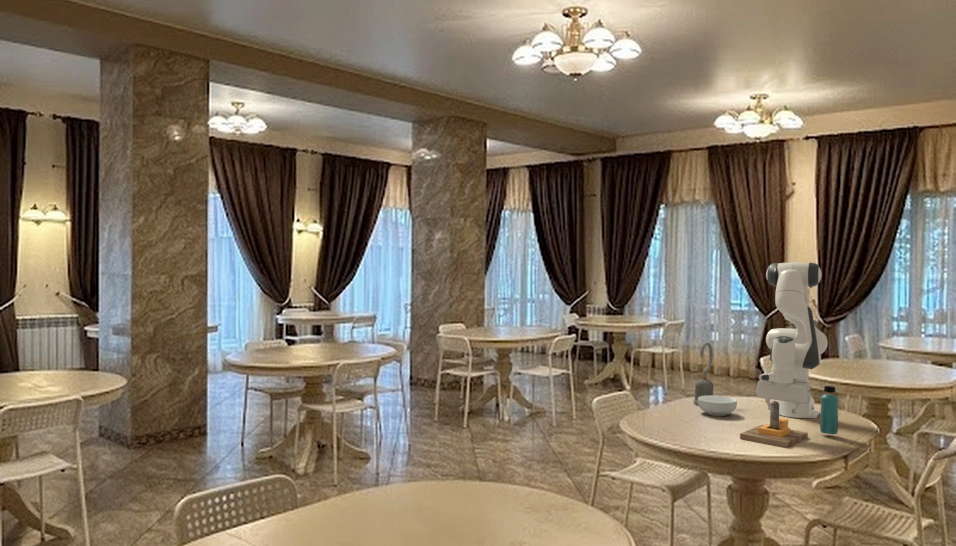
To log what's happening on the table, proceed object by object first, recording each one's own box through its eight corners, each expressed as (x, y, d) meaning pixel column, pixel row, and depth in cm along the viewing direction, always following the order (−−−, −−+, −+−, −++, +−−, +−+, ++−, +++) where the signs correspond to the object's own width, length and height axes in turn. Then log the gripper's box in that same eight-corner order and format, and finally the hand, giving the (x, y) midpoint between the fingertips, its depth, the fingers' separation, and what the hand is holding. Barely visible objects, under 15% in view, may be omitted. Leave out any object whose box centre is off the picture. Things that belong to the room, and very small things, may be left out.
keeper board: (762, 429, 296) (763, 394, 296) (807, 437, 284) (808, 400, 284) (739, 438, 280) (740, 401, 280) (787, 447, 268) (788, 408, 268)
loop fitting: (772, 426, 293) (773, 416, 293) (795, 430, 287) (795, 420, 287) (758, 432, 282) (758, 422, 282) (781, 437, 276) (781, 426, 276)
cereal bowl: (697, 409, 335) (697, 394, 335) (735, 411, 330) (735, 396, 330) (698, 416, 318) (698, 400, 318) (737, 419, 314) (738, 403, 314)
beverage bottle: (839, 438, 283) (841, 388, 283) (821, 437, 285) (823, 387, 284) (835, 434, 290) (836, 385, 289) (817, 433, 291) (818, 384, 291)
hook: (719, 404, 347) (721, 342, 347) (708, 407, 339) (710, 344, 338) (701, 401, 354) (702, 340, 353) (689, 404, 345) (690, 342, 345)
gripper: (813, 379, 283) (812, 414, 283) (761, 373, 296) (760, 406, 297) (807, 382, 278) (806, 417, 279) (755, 375, 292) (754, 408, 292)
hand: (782, 411), depth 288 cm, fingers open, 8 cm apart
